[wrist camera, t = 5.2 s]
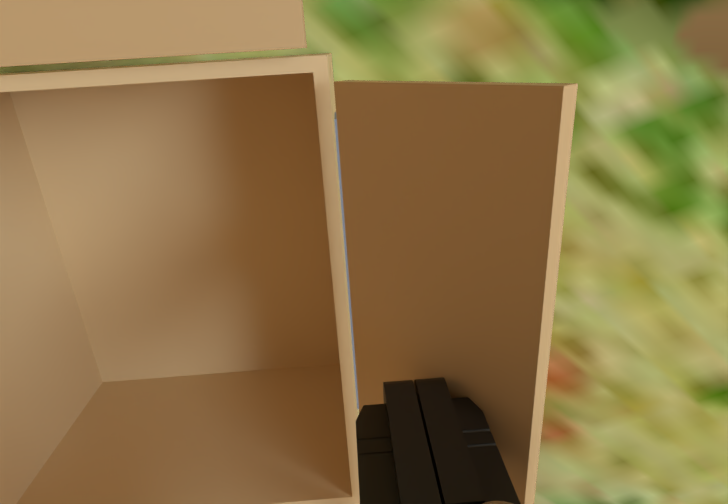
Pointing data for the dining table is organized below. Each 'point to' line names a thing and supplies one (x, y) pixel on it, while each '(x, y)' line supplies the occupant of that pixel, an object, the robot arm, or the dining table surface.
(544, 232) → the flap
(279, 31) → the carton
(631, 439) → the dining table surface
